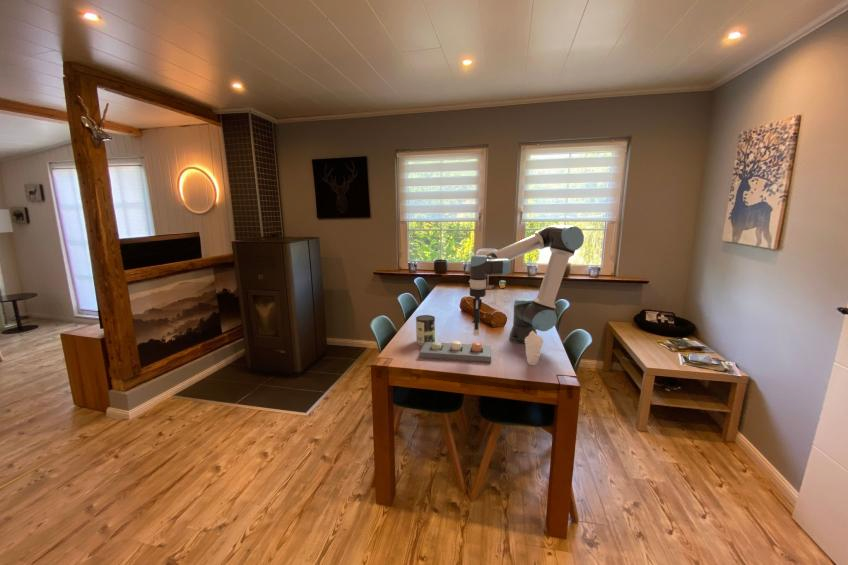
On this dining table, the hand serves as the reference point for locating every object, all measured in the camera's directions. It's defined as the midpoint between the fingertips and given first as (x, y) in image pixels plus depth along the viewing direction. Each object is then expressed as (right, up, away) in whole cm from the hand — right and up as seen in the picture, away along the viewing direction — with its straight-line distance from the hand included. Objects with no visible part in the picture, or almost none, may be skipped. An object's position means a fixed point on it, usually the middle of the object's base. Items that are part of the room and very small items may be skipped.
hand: (476, 335), depth 168 cm
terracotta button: (0, -8, +2) cm, 9 cm away
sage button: (-19, -9, +6) cm, 22 cm away
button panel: (-9, -10, +4) cm, 14 cm away
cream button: (-9, -8, +4) cm, 13 cm away
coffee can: (-25, -7, +21) cm, 33 cm away
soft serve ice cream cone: (+25, -12, -7) cm, 29 cm away
